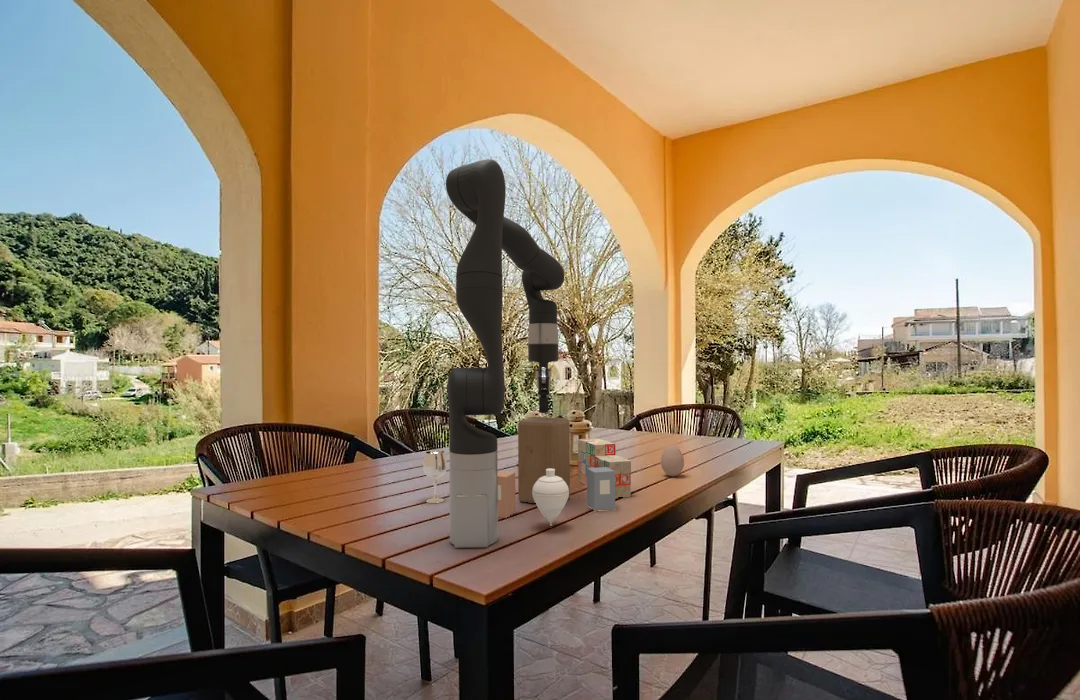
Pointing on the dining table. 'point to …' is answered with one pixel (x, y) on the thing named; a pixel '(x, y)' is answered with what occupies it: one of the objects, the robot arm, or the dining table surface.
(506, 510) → the terracotta painted block
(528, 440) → the wooden block
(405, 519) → the dining table surface
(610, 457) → the stack of blocks
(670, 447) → the egg
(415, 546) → the dining table surface
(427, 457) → the wineglass
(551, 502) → the spinning top
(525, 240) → the robot arm
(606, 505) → the slate painted block
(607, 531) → the dining table surface
